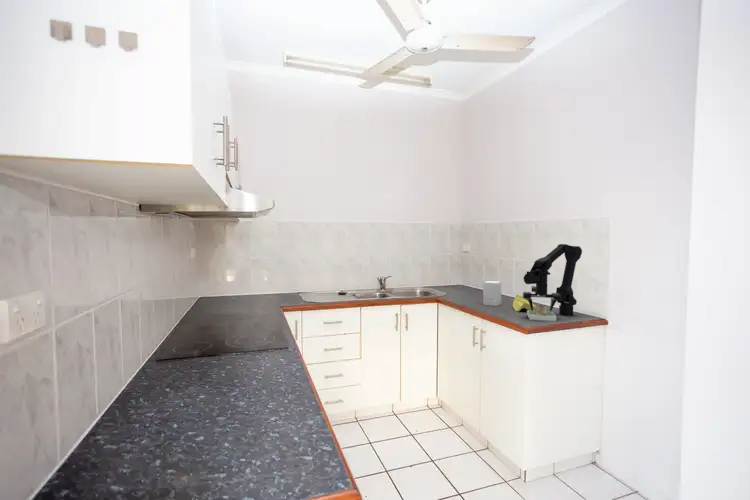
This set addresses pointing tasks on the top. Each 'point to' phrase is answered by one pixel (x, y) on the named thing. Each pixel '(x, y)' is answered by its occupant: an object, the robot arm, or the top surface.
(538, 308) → the beech block
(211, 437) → the top surface
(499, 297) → the supplement box
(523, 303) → the plastic component
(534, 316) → the tray
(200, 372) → the top surface
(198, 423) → the top surface
